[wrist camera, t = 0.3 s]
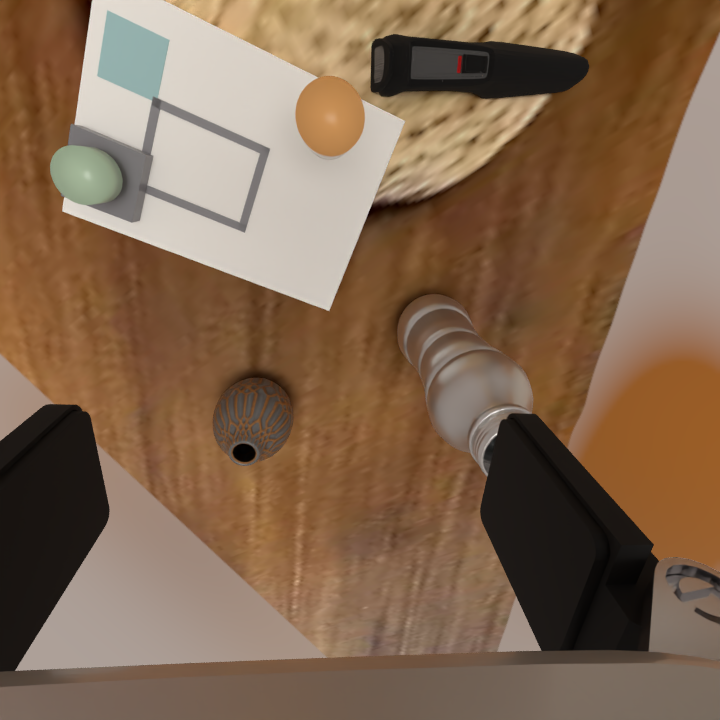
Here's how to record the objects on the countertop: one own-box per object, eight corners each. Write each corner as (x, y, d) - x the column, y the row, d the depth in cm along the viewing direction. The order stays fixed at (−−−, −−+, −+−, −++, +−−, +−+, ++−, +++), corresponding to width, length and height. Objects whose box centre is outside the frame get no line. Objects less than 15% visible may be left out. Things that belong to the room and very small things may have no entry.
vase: (265, 353, 39) (250, 400, 31) (309, 405, 42) (305, 461, 34) (208, 392, 41) (179, 446, 33) (254, 440, 43) (238, 501, 35)
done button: (71, 137, 29) (54, 135, 27) (127, 160, 29) (114, 159, 28) (63, 190, 30) (46, 191, 28) (117, 211, 31) (104, 213, 29)
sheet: (101, -29, 28) (96, -34, 27) (403, 122, 32) (405, 120, 32) (66, 210, 33) (61, 211, 33) (329, 308, 38) (328, 311, 37)
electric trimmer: (561, 106, 33) (584, 99, 30) (369, 98, 32) (374, 90, 29) (571, 49, 32) (597, 37, 29) (371, 38, 30) (376, 23, 28)
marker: (314, 95, 31) (309, 62, 22) (360, 118, 32) (375, 96, 22) (297, 147, 32) (285, 137, 23) (342, 168, 33) (349, 167, 24)
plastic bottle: (470, 293, 38) (600, 403, 20) (451, 361, 41) (551, 511, 23) (401, 282, 38) (473, 386, 19) (386, 352, 40) (437, 501, 22)
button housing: (82, 125, 31) (70, 123, 29) (153, 155, 32) (145, 154, 30) (71, 194, 32) (60, 195, 31) (139, 220, 33) (132, 222, 32)
